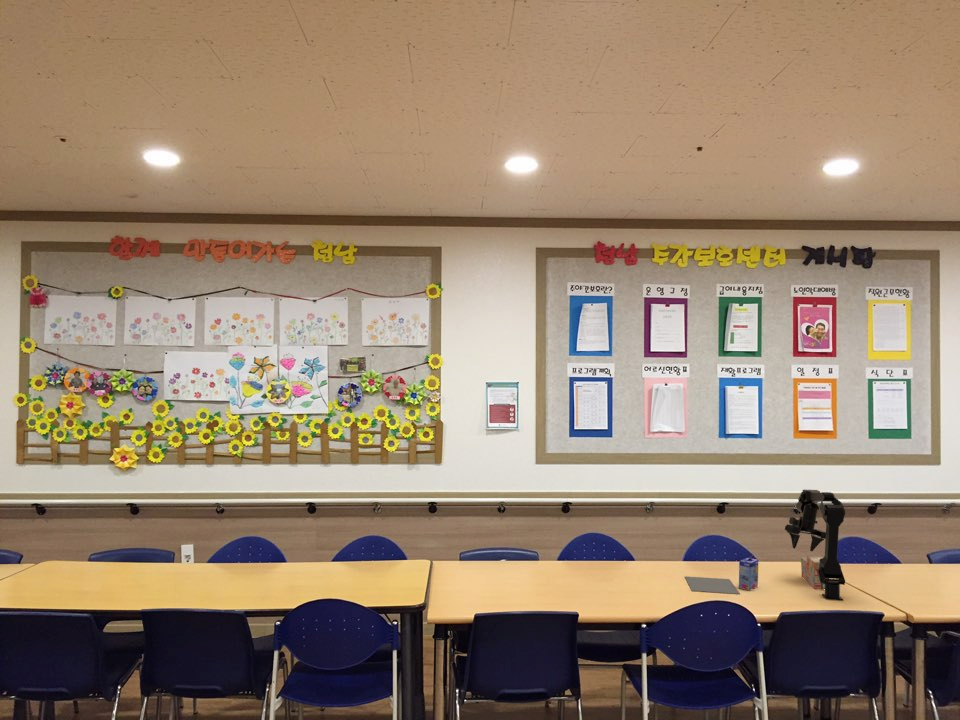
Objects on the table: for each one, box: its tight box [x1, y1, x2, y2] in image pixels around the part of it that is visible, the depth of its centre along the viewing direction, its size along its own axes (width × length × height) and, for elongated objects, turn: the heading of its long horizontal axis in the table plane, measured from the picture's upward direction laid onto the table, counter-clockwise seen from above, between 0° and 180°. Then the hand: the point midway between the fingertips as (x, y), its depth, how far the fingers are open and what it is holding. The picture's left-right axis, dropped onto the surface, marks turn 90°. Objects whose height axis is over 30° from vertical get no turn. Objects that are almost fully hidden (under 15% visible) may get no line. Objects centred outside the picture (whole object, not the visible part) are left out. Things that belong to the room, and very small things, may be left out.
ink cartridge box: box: [738, 554, 759, 591], centre depth 297 cm, size 10×6×14 cm, turn 138°
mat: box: [684, 575, 741, 595], centre depth 300 cm, size 24×20×1 cm
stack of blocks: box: [800, 555, 830, 590], centre depth 306 cm, size 21×6×12 cm, turn 169°
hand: (802, 549), depth 308 cm, fingers open, 9 cm apart
